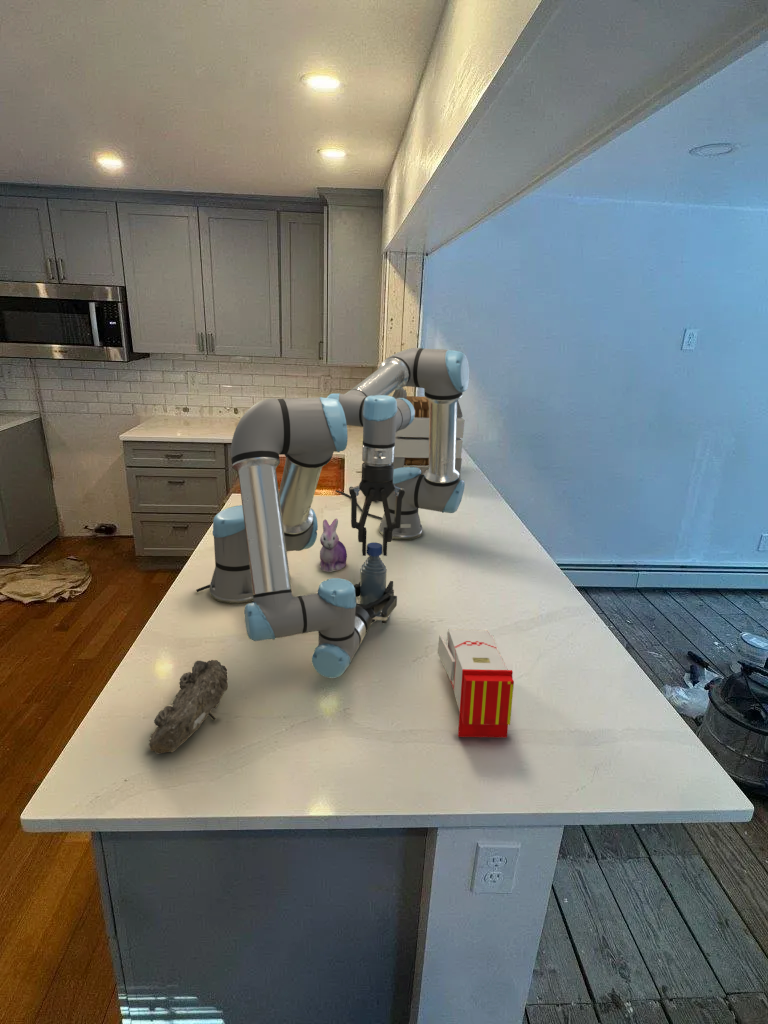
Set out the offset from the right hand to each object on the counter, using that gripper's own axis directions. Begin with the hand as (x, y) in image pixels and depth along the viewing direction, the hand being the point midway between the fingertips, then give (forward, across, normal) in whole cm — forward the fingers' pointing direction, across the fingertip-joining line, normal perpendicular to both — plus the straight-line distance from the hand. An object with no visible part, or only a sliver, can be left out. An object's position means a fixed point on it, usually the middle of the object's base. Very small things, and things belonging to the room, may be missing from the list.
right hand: (374, 553), depth 141 cm
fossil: (+17, -36, -38) cm, 55 cm away
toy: (+17, +18, -32) cm, 41 cm away
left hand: (+11, +2, +5) cm, 12 cm away
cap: (-2, 0, 0) cm, 2 cm away
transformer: (+17, +34, +133) cm, 138 cm away
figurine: (+17, -10, +28) cm, 35 cm away
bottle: (+17, 0, 0) cm, 17 cm away
